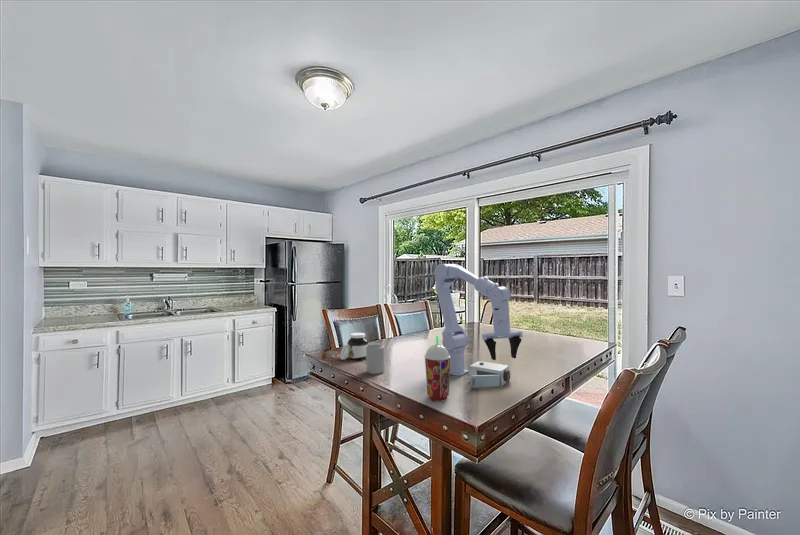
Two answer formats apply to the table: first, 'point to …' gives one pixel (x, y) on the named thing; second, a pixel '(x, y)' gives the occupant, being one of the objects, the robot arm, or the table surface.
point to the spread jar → (355, 347)
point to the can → (375, 358)
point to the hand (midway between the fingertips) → (503, 358)
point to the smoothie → (437, 372)
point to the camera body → (490, 370)
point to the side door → (486, 380)
